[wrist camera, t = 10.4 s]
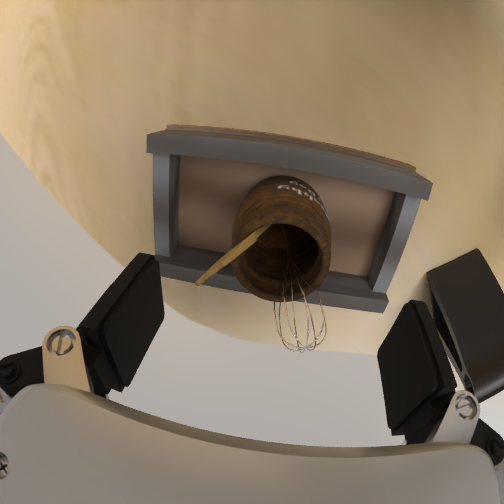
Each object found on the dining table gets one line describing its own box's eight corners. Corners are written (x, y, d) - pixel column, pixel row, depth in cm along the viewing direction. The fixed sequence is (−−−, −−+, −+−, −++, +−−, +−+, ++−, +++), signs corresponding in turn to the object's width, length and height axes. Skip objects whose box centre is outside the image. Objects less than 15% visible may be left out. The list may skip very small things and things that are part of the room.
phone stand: (477, 312, 23) (520, 394, 13) (433, 333, 25) (467, 424, 15) (477, 247, 20) (546, 333, 9) (426, 270, 22) (482, 374, 11)
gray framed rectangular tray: (172, 124, 19) (147, 129, 15) (411, 165, 18) (434, 178, 14) (170, 252, 24) (151, 277, 21) (371, 286, 23) (381, 316, 20)
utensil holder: (277, 263, 22) (265, 397, 12) (221, 204, 20) (155, 313, 10) (339, 220, 20) (386, 343, 9) (285, 151, 18) (286, 215, 7)
